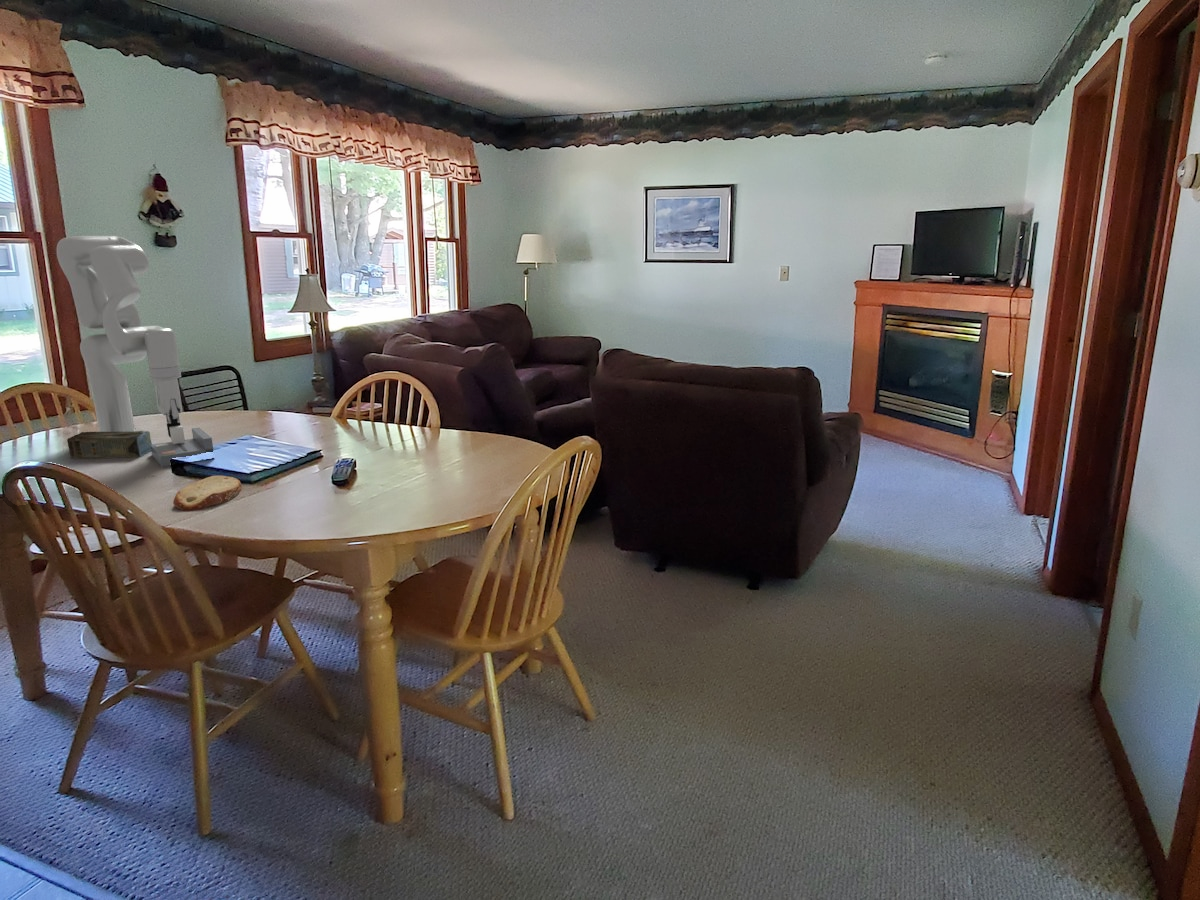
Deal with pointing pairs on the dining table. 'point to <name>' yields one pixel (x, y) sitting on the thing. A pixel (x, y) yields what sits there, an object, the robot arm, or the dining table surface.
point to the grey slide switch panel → (182, 448)
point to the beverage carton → (109, 444)
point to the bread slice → (207, 493)
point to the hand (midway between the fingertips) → (175, 436)
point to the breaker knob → (177, 434)
